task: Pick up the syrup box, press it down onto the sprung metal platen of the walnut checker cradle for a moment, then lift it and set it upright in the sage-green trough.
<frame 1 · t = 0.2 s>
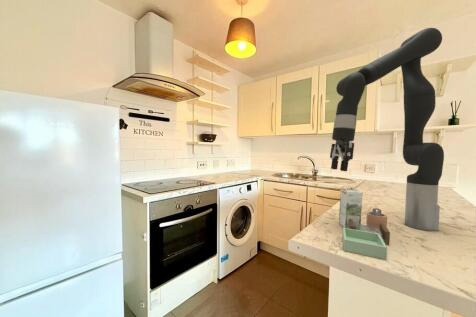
hand: (338, 170, 76), 22 cm above the countertop, tool pointing down, fingers open, 8 cm apart
syrup box: (349, 227, 77), on the countertop
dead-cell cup: (375, 229, 74), on the countertop
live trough: (362, 247, 61), on the countertop
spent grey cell: (376, 218, 74), in the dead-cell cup, point 5 cm above the countertop
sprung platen: (367, 229, 68), point 3 cm above the countertop, slide at -0.1 cm
checker cradle: (367, 237, 68), on the countertop
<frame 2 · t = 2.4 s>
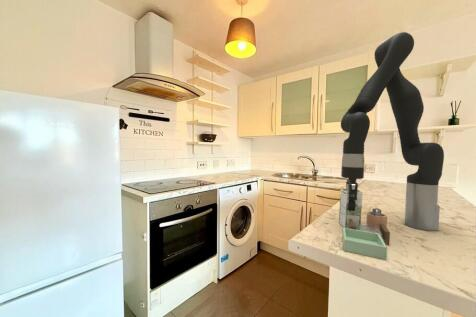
hand: (350, 208, 77), 7 cm above the countertop, tool pointing down, fingers closed on syrup box, 7 cm apart
syrup box: (349, 227, 77), on the countertop, touching gripper
everything else where it was.
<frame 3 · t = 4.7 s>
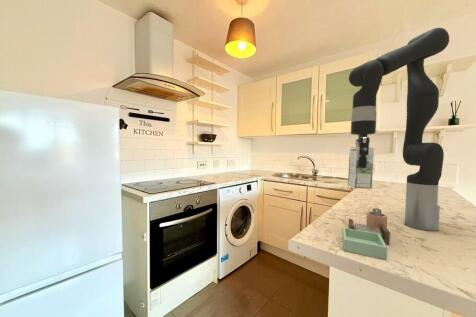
hand: (361, 167, 71), 24 cm above the countertop, tool pointing down, fingers closed on syrup box, 7 cm apart
syrup box: (359, 187, 72), point 16 cm above the countertop, touching gripper
everything else where it was.
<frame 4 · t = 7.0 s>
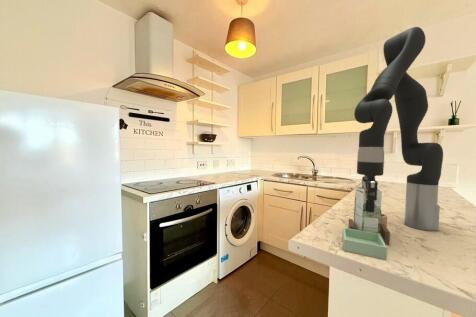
hand: (367, 208, 68), 10 cm above the countertop, tool pointing down, fingers closed on syrup box, 7 cm apart
syrup box: (365, 230, 68), point 2 cm above the countertop, touching gripper, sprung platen
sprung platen: (367, 231, 68), point 2 cm above the countertop, slide at -0.8 cm, touching syrup box
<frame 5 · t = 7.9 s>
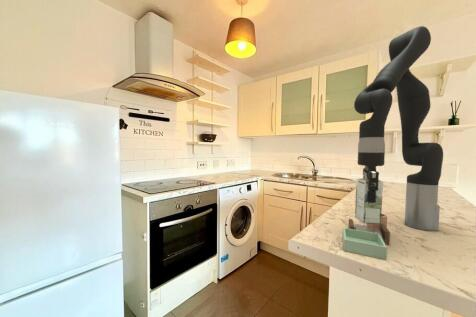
hand: (369, 199, 68), 13 cm above the countertop, tool pointing down, fingers closed on syrup box, 7 cm apart
syrup box: (367, 221, 68), point 5 cm above the countertop, touching gripper
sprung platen: (367, 230, 68), point 2 cm above the countertop, slide at -0.4 cm
when the fingers open (10 cm above the countertop, at t = 11.7 s): syrup box drops 1 cm, resting on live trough.
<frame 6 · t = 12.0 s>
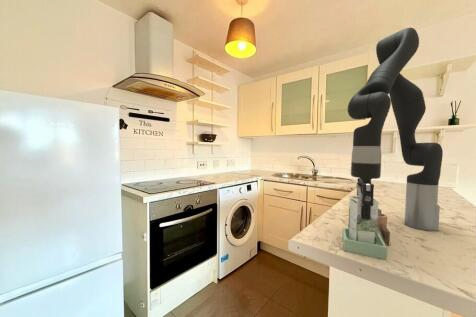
hand: (363, 214, 60), 10 cm above the countertop, tool pointing down, fingers open, 8 cm apart
syrup box: (361, 245, 61), point 1 cm above the countertop, touching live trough
everything else where it was.
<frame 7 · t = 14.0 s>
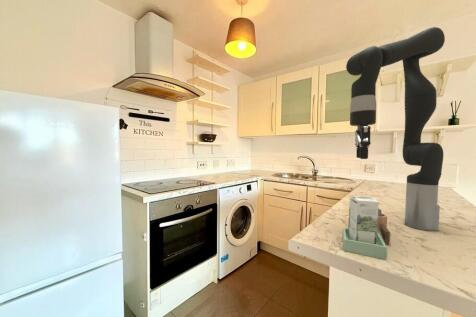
hand: (361, 158, 68), 27 cm above the countertop, tool pointing down, fingers open, 8 cm apart
nothing on the countertop moved.
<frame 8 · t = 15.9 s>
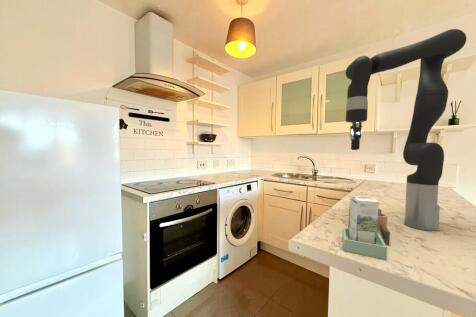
hand: (354, 149, 81), 30 cm above the countertop, tool pointing down, fingers open, 8 cm apart
nothing on the countertop moved.
at the end: syrup box inside the target area on the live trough (0.2 cm from its centre), point 0.6 cm above the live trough's base; syrup box tilted 0°; the gripper is holding nothing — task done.
